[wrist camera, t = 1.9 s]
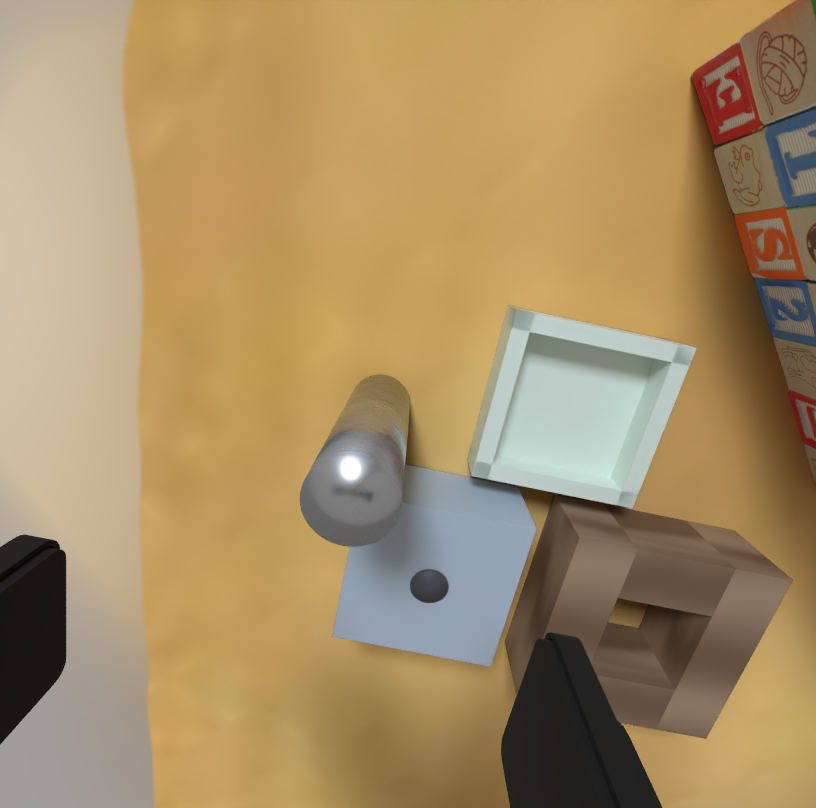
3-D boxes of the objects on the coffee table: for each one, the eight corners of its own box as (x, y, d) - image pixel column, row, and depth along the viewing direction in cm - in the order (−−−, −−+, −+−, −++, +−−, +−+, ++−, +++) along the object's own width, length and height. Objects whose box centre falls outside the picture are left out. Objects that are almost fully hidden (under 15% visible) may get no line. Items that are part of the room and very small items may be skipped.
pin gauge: (356, 369, 22) (307, 446, 13) (415, 381, 22) (411, 467, 13) (346, 425, 23) (293, 536, 14) (403, 436, 23) (390, 555, 14)
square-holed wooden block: (554, 494, 24) (579, 537, 20) (734, 530, 24) (793, 580, 21) (504, 641, 27) (518, 703, 23) (666, 672, 27) (706, 738, 23)
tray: (508, 305, 21) (516, 309, 19) (672, 340, 21) (696, 348, 20) (467, 459, 24) (471, 476, 22) (615, 489, 24) (632, 508, 22)
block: (369, 457, 24) (359, 495, 20) (518, 487, 24) (536, 530, 20) (345, 582, 26) (331, 638, 22) (480, 608, 26) (490, 668, 22)
